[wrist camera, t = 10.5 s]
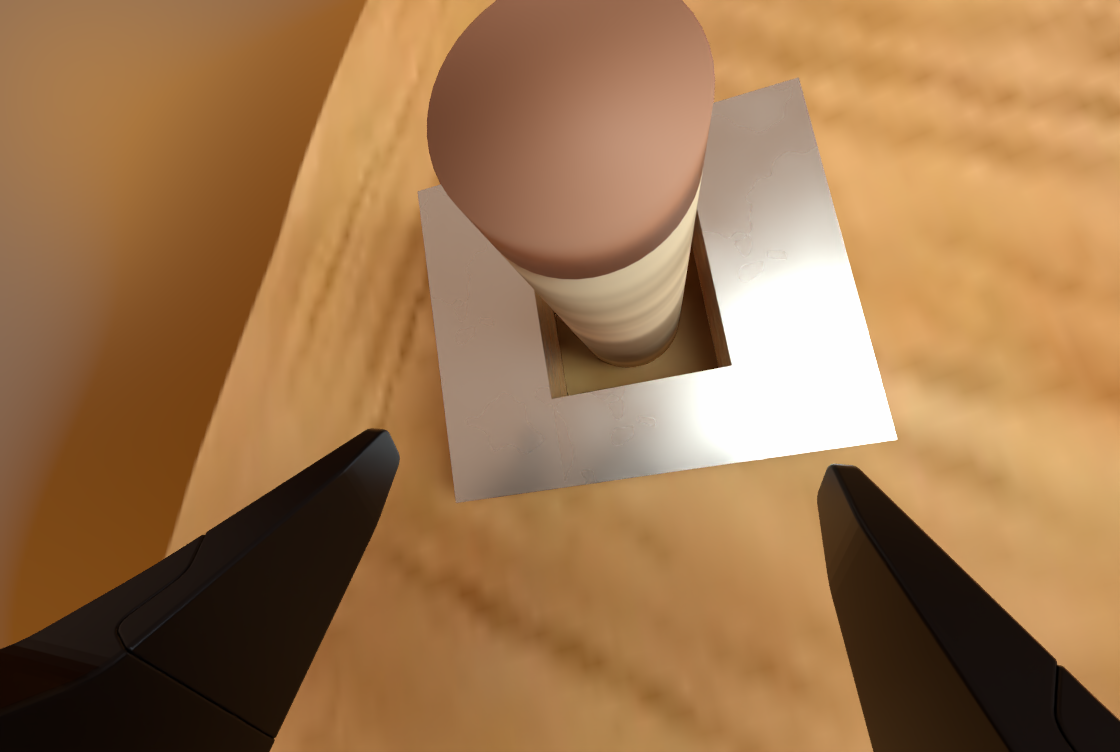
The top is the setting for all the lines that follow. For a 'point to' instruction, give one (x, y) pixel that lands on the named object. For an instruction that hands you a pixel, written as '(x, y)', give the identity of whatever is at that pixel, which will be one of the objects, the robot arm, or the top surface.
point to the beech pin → (582, 156)
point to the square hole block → (734, 319)
